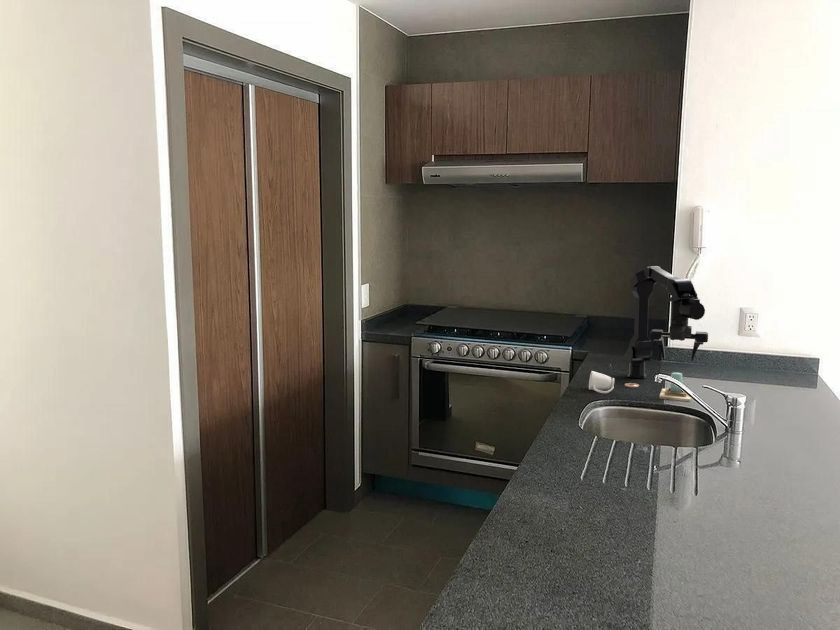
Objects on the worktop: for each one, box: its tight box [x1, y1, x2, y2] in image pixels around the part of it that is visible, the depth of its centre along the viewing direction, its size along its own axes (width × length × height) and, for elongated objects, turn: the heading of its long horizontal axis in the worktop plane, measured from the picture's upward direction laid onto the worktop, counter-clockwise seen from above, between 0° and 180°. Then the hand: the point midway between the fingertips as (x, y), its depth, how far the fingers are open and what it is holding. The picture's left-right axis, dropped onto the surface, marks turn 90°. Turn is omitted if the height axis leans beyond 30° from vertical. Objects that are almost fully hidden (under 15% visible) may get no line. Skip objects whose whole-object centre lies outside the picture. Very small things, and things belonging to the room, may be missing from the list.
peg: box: [670, 372, 683, 393], centre depth 243 cm, size 4×4×7 cm
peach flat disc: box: [624, 382, 640, 388], centre depth 258 cm, size 5×5×1 cm
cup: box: [588, 370, 615, 394], centre depth 252 cm, size 7×10×8 cm
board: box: [658, 387, 692, 402], centre depth 243 cm, size 12×10×2 cm
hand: (677, 360), depth 244 cm, fingers open, 9 cm apart
